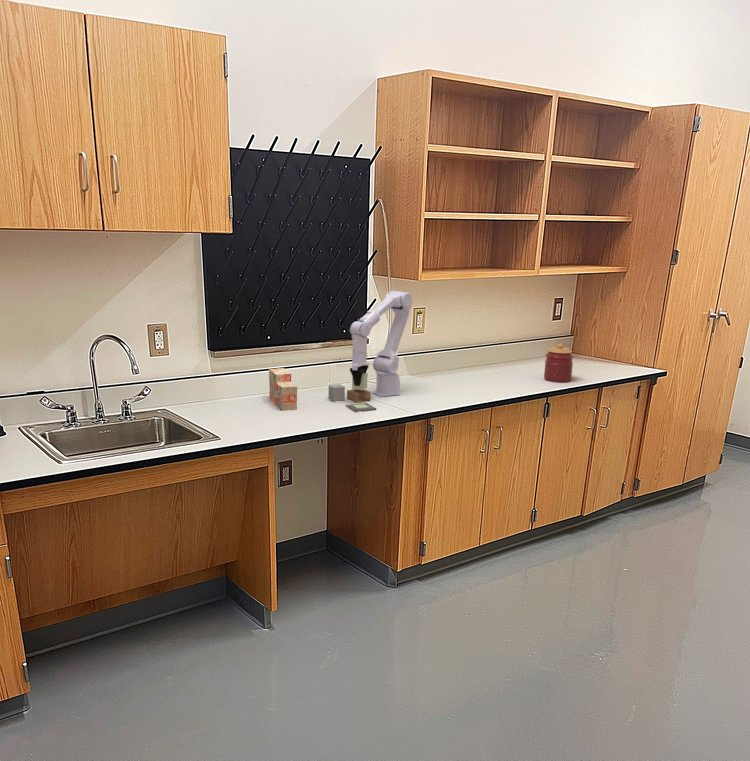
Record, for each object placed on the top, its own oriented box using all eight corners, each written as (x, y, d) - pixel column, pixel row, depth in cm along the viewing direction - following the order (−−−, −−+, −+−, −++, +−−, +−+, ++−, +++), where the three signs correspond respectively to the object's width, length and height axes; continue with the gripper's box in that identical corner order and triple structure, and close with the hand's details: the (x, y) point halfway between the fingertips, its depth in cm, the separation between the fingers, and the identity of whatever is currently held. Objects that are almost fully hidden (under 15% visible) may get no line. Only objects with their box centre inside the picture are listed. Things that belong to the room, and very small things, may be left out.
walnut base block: (361, 397, 282) (361, 388, 281) (370, 401, 276) (370, 392, 276) (347, 399, 279) (347, 390, 278) (355, 403, 273) (355, 393, 272)
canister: (559, 376, 333) (562, 340, 329) (577, 381, 322) (580, 345, 318) (537, 377, 328) (540, 341, 324) (555, 383, 316) (558, 346, 312)
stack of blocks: (297, 409, 261) (297, 378, 258) (281, 410, 259) (281, 379, 256) (284, 396, 281) (283, 367, 278) (269, 397, 278) (268, 368, 276)
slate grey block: (339, 398, 280) (339, 384, 278) (344, 401, 275) (344, 386, 274) (328, 399, 277) (328, 385, 276) (333, 402, 273) (333, 387, 272)
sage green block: (355, 386, 279) (355, 372, 278) (367, 387, 278) (367, 373, 277) (352, 389, 274) (352, 374, 273) (363, 390, 273) (364, 375, 272)
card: (366, 404, 271) (366, 402, 270) (376, 409, 263) (376, 407, 263) (345, 406, 267) (345, 404, 267) (355, 412, 259) (355, 409, 259)
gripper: (364, 355, 265) (363, 388, 268) (373, 349, 279) (372, 381, 282) (347, 353, 267) (346, 387, 270) (357, 347, 281) (356, 379, 284)
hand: (359, 384), depth 276 cm, fingers closed on sage green block, 5 cm apart
